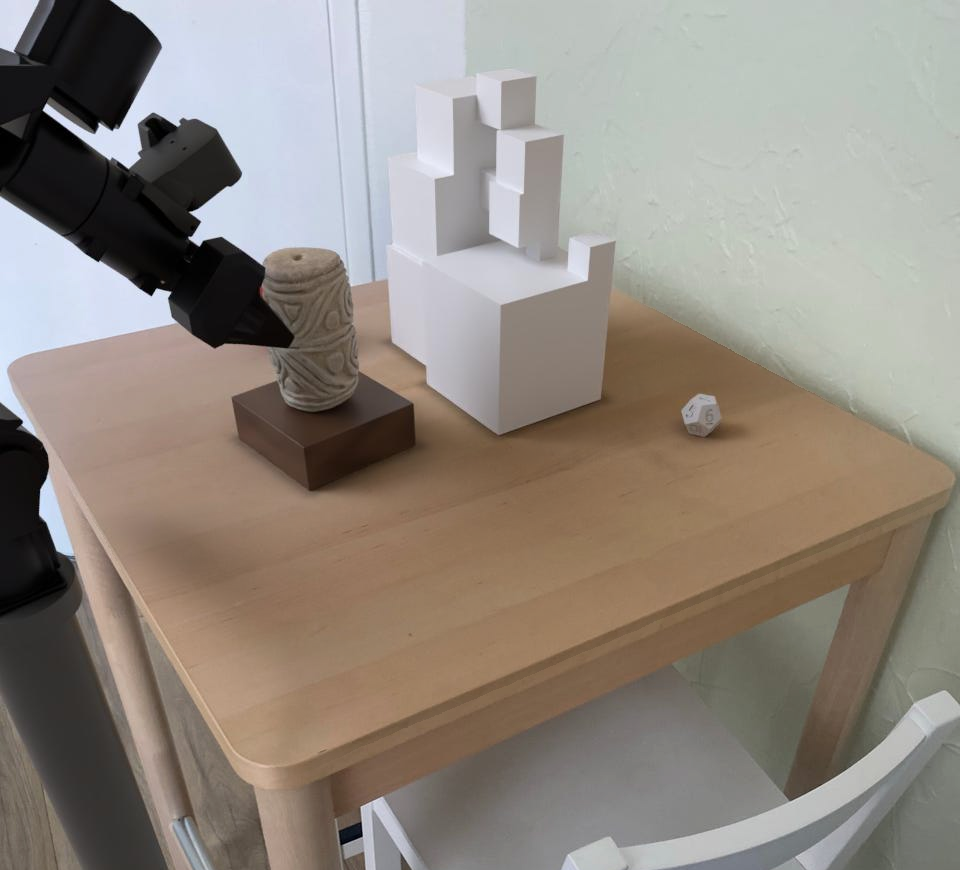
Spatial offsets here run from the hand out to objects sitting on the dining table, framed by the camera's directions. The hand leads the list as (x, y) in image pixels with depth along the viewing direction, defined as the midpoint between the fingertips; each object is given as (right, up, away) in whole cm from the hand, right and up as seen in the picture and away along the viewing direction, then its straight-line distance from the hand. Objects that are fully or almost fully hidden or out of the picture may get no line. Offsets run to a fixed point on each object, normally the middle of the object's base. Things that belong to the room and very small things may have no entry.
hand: (262, 320), depth 73 cm
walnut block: (+3, -7, +10) cm, 13 cm away
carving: (+3, -4, +7) cm, 9 cm away
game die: (+36, -6, +12) cm, 38 cm away
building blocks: (+17, +2, +20) cm, 26 cm away
